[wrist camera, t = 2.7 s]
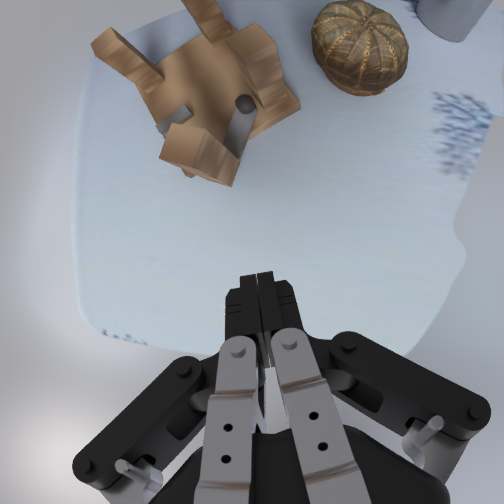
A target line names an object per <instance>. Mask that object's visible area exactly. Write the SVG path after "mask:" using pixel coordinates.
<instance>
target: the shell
mask: <svg viewBox="0 0 504 504" xmlns="http://www.w3.org/2000/svg"><path fill="white" fill-rule="evenodd" d="M311 34H312V45H313V46H312V47H313V54H314V56H315V59H316V61H317V63H318V64H319V65H320V66H321V68H322V69H323V70H324V72H325V74H326V75H327V77H328V78H329V80H330V81H331V82H332V83H333V84H334V85H336V86H337V87H338V88H339V89H341V90H343V91H345V92H347V93H350V94H352V95H356V96H369V95H377V94H380V93H382V92H385V88H387V87H389V86H390V85H392V84H393V83H395V82H396V81H398V80H399V79H400V78H401V77H402V76H403V74H404V72H405V70H406V68H407V62H408V49H409V46H408V43H407V40H406V38H405V35H404V33H403V32H402V30H401V27H400V26H399V24H398V23H397V21H396V20H395V19H394V18H393V16H392V15H391V14H389V13H387V12H385V11H384V10H381V9H379V8H376V7H375V6H373V5H371V4H370V3H367V2H365V1H362V0H347V1H337V2H333V3H330V4H328V5H326V7H325V8H324V9H322V10H321V12H320V13H319V14H318V17H317V18H316V19H315V21H314V25H313V28H312V31H311Z"/></svg>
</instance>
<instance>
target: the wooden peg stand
mask: <svg viewBox="0 0 504 504" xmlns="http://www.w3.org/2000/svg"><path fill="white" fill-rule="evenodd" d="M181 1H182V2H183V4H184V5H185V7H186V8H187V10H188V11H189V13H190V14H191V16H192V17H193V19H194V20H195V22H196V24H197V25H198V27H199V28H200V30H201V31H202V34H200V35H198V36H197V37H195V38H194V39H192V40H190V41H189V42H187V43H186V44H184V45H183V46H181V47H180V48H178V49H177V50H175V51H174V52H172V53H171V54H169V55H168V56H167V57H165V58H164V59H162V60H161V61H160V62H158V63H157V64H156V65H154V64H152V63H151V62H150V61H149V60H148V59H147V58H146V57H145V56H144V55H143V54H141V53H140V52H139V51H138V50H137V49H136V48H135V47H134V46H133V45H131V44H130V43H129V42H128V41H127V40H126V39H125V38H123V37H122V36H121V35H120V34H119V33H118V32H117V31H115V30H114V29H113V28H112V27H109V28H108V29H107V30H106V31H104V32H103V33H102V34H101V35H100V36H99V37H98V38H97V39H95V40H94V41H93V42H92V43H91V46H92V49H93V51H94V54H95V56H96V57H98V58H99V59H100V60H102V61H103V62H105V63H106V64H108V65H109V66H111V67H112V68H113V69H115V70H116V71H118V72H119V73H120V74H122V75H123V76H125V77H126V78H127V79H129V80H130V81H132V82H133V83H134V84H135V85H136V87H137V89H138V91H139V93H140V94H141V96H142V98H143V100H144V102H145V104H146V106H147V107H148V109H149V111H150V113H151V115H152V117H153V118H154V120H155V122H156V124H157V125H156V127H157V129H158V131H159V133H161V134H162V135H163V137H164V138H165V139H166V137H167V134H168V131H169V129H170V126H171V124H172V123H176V124H182V125H187V126H192V127H197V128H202V129H206V130H207V131H208V132H209V133H210V134H211V135H212V136H213V137H215V138H216V139H217V140H218V141H219V142H220V143H221V144H222V143H223V140H224V138H225V135H226V132H227V130H228V127H229V124H230V122H231V119H232V116H233V114H234V111H235V108H236V105H235V100H236V98H237V97H238V96H240V95H242V94H248V95H250V96H251V97H252V99H253V101H254V103H255V105H256V107H257V111H258V112H257V115H256V118H255V121H254V123H253V126H252V129H251V132H250V134H249V137H248V140H249V139H251V138H252V137H254V136H256V135H257V134H259V133H261V132H262V131H264V130H266V129H267V128H269V127H271V126H272V125H274V124H276V123H277V122H279V121H281V120H282V119H284V118H286V117H288V116H289V115H291V114H293V113H295V112H296V111H298V110H300V109H301V107H300V102H299V101H298V99H297V98H296V97H295V95H294V94H293V93H292V92H291V90H290V89H289V88H288V87H287V86H286V84H285V83H284V78H283V74H282V69H281V65H280V60H279V56H278V52H277V47H276V43H275V41H274V40H273V39H272V38H271V37H270V36H269V35H268V34H267V33H266V32H265V31H264V30H263V29H262V28H261V27H260V26H259V25H258V24H257V23H256V22H255V23H253V24H251V25H249V26H247V27H245V28H244V29H242V30H240V31H237V30H236V29H235V28H234V27H233V26H232V25H231V24H230V23H229V22H228V21H227V20H225V18H224V16H223V14H222V12H221V10H220V8H219V6H218V4H217V2H216V0H181ZM248 140H247V141H248ZM181 169H182V168H181ZM182 171H183V172H184V174H185V176H188V177H190V178H192V177H194V176H195V174H193V173H191V172H189V171H186V170H184V169H182Z"/></svg>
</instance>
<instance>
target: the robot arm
mask: <svg viewBox="0 0 504 504" xmlns="http://www.w3.org/2000/svg"><path fill="white" fill-rule="evenodd" d="M492 1H493V0H419V2H418V4H417V7H416V13H417V15H418V17H419V19H420V20H421V22H422V23H423V24H424V25H425V26H426V27H427V28H428V29H429V30H431V31H432V32H433V33H435V34H436V35H438V36H440V37H442V38H444V39H446V40H449V41H453V42H461V41H463V40H464V39H465V38H466V37H467V35H468V34H469V33H470V31H471V30H472V29H473V27H474V26H475V25H476V23H477V22H478V21H479V19H480V18H481V16H482V15H483V14H484V12H485V11H486V9H487V8H488V6H489V5H490V4H491V2H492ZM257 280H258V283H257ZM225 306H226V308H225V314H226V315H225V342H224V343H223V344H222V346H221V348H220V351H219V352H218V353H217V354H215V355H214V356H211V357H209V358H207V359H204V360H201V361H199V360H198V359H196V358H194V357H191V356H184V357H180V358H178V359H176V360H174V361H173V362H172V363H171V364H170V365H169V366H168V367H167V368H166V369H165V370H164V371H163V372H162V373H161V374H160V375H159V376H158V377H157V378H156V379H155V380H154V381H153V382H152V383H151V384H150V385H149V386H148V387H147V388H146V389H145V390H144V391H143V392H142V393H141V394H140V395H139V396H138V397H136V398H135V399H134V400H133V401H132V402H131V403H130V404H129V405H128V406H127V407H126V408H125V409H124V410H123V411H122V412H121V413H120V414H119V415H118V416H117V417H116V418H115V419H114V420H113V421H112V422H111V423H110V424H108V425H107V426H106V427H105V428H104V429H103V430H102V431H101V432H100V433H99V434H98V435H97V436H96V437H95V438H94V439H93V440H92V441H91V442H90V443H89V444H87V445H86V446H85V447H84V448H83V449H82V450H81V451H80V452H79V453H78V454H77V455H76V456H75V458H74V460H73V464H72V469H73V473H74V475H75V476H76V478H77V479H78V480H80V481H81V482H83V483H86V484H88V485H90V486H92V487H93V488H95V489H97V490H99V491H100V492H101V493H102V494H103V496H104V497H105V498H106V499H107V500H108V501H109V502H110V504H450V495H449V492H448V489H447V487H446V486H445V483H446V481H447V480H448V478H449V476H450V475H451V473H452V471H453V470H454V468H455V466H456V464H457V463H458V461H459V459H460V457H461V455H462V454H463V452H464V450H465V448H466V446H467V444H468V442H469V440H470V439H471V438H472V437H473V436H475V435H476V434H477V433H478V432H479V431H480V430H482V428H484V427H485V426H486V425H487V424H488V422H489V420H490V417H491V408H490V405H489V403H488V401H487V400H486V399H485V398H484V397H482V396H480V395H478V394H476V393H474V392H472V391H470V390H468V389H466V388H464V387H462V386H459V385H457V384H456V383H454V382H451V381H449V380H448V379H445V378H444V377H442V376H440V375H437V374H436V373H434V372H432V371H429V370H428V369H426V368H424V367H422V366H420V365H418V364H416V363H414V362H412V361H410V360H408V359H406V358H404V357H402V356H400V355H399V354H397V353H395V352H393V351H391V350H389V349H387V348H385V347H383V346H381V345H379V344H377V343H376V342H374V341H372V340H370V339H368V338H366V337H364V336H362V335H360V334H358V333H356V332H351V331H346V332H341V333H339V334H337V335H336V336H334V337H333V339H332V340H324V339H317V338H314V337H311V336H310V335H308V334H307V333H306V332H305V330H304V328H303V325H302V321H301V317H300V314H299V310H298V306H297V303H296V298H295V295H294V291H293V287H292V286H291V285H290V284H289V283H288V282H287V281H286V280H282V281H276V282H275V281H274V276H273V271H269V272H263V273H257V278H256V274H252V275H246V276H240V288H235V289H230V291H229V292H228V294H227V296H226V302H225ZM268 354H269V357H268ZM269 358H270V363H271V367H275V368H276V373H277V379H278V384H279V388H280V392H281V396H282V400H283V405H284V409H285V412H286V417H287V422H288V426H289V429H286V430H284V431H281V432H279V433H276V434H268V431H267V424H266V383H265V380H266V377H265V368H270V365H269ZM331 393H332V394H333V395H335V396H336V397H338V398H340V399H341V400H343V401H344V402H346V403H347V404H349V405H351V406H352V407H354V408H355V409H357V410H358V411H360V412H362V413H363V414H365V415H366V416H368V417H370V418H371V419H373V420H375V421H376V422H378V423H380V424H381V425H383V426H385V427H386V428H388V429H390V430H392V431H393V432H395V433H397V434H399V435H400V436H402V437H403V438H402V449H403V451H404V452H405V454H407V455H408V456H409V457H410V458H411V459H412V460H413V462H414V464H412V463H410V462H409V461H407V460H406V459H404V458H403V457H401V456H399V455H398V454H396V453H395V452H393V451H391V450H390V449H388V448H386V447H385V446H383V445H382V444H380V443H379V442H377V441H376V440H374V439H373V438H371V437H370V436H368V435H367V434H366V433H364V432H362V431H361V430H359V429H357V428H354V427H351V426H348V425H343V424H342V422H341V419H340V416H339V413H338V410H337V408H336V405H335V402H334V399H333V396H332V394H331ZM204 426H205V434H204V442H203V446H202V447H200V448H199V449H197V450H196V451H195V452H194V453H193V454H192V455H191V456H190V457H189V458H188V459H187V461H186V462H185V463H184V464H183V465H182V466H181V467H180V469H179V470H178V471H177V472H176V473H175V474H174V475H173V477H172V478H171V479H170V480H169V481H168V482H167V483H166V484H165V486H163V488H162V489H161V487H162V485H163V475H162V471H163V470H164V469H165V468H166V467H167V466H168V465H169V463H171V462H172V461H173V460H174V458H175V457H176V456H177V455H178V454H179V453H180V452H181V451H182V450H183V449H184V448H185V447H186V446H187V445H188V444H189V442H190V441H191V440H192V439H193V438H194V437H195V436H196V435H197V434H198V432H199V431H200V430H201V429H202V428H203V427H204ZM160 489H161V490H160ZM159 490H160V491H159ZM158 491H159V492H158Z"/></svg>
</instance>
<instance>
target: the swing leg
mask: <svg viewBox="0 0 504 504" xmlns="http://www.w3.org/2000/svg"><path fill="white" fill-rule="evenodd" d="M235 105H236V108H235V111H234V114H233V116H232V119H231V122H230V124H229V127H228V130H227V132H226V135H225V138H224V140H223V143H222V144H221V143H220V142H219V141H218V140H217V139H216V138H215V137H213V136H212V135H211V134H210V133H209V132H208V131H207V130H206V129H202V128H197V127H192V126H187V125H182V124H176V123H172V124H171V126H170V129H169V131H168V134H167V137H166V139H165V142H164V145H163V148H162V150H161V153H160V156H159V159H161V160H164V161H166V162H168V163H170V164H173V165H175V166H177V167H180V168H182V169H184V170H186V171H189V172H191V173H193V174H195V175H198V176H200V177H202V178H204V179H206V180H209V181H213V182H216V183H220V184H223V185H226V186H229V187H232V184H233V181H234V178H235V176H236V173H237V170H238V167H239V164H240V160H241V157H242V154H243V151H244V148H245V145H246V143H247V140H248V137H249V134H250V132H251V129H252V126H253V123H254V121H255V118H256V115H257V112H258V111H257V107H256V105H255V103H254V101H253V99H252V97H251V96H250V95H248V94H242V95H240V96H238V97H237V98H236V100H235Z"/></svg>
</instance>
